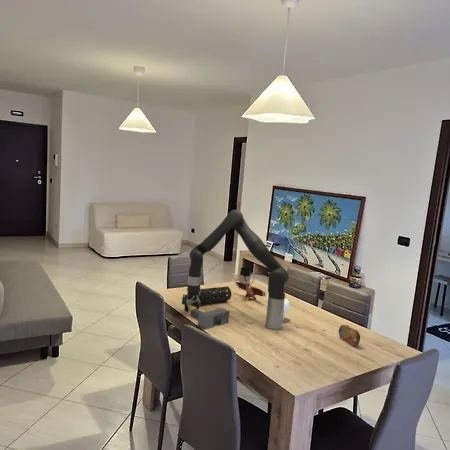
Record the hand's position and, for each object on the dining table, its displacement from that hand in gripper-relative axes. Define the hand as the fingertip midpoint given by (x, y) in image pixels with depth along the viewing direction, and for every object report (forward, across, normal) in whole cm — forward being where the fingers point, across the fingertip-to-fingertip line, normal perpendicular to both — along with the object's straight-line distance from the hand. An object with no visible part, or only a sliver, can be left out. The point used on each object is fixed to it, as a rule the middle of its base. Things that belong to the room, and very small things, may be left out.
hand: (191, 310), depth 241 cm
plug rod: (+3, 0, +6) cm, 6 cm away
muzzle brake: (+3, -24, -10) cm, 26 cm away
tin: (+3, -44, +77) cm, 89 cm away
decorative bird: (+3, -52, -1) cm, 52 cm away
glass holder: (+3, -72, -21) cm, 75 cm away
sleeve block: (+3, 0, +18) cm, 19 cm away
